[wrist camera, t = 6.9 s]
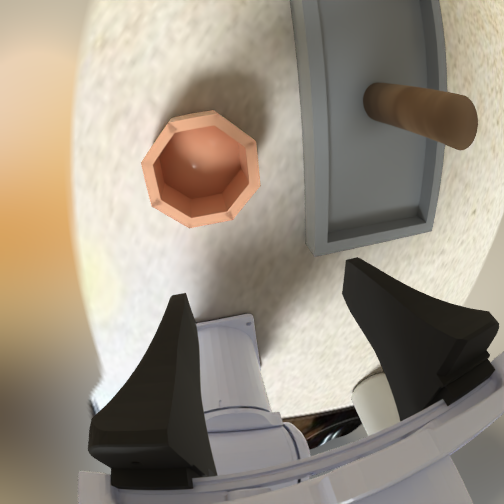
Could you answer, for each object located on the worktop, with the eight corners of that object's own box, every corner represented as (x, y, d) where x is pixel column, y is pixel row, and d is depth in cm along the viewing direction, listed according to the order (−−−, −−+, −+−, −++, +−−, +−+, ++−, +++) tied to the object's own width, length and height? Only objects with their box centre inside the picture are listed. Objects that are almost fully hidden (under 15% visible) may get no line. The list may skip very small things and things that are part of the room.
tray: (419, 221, 24) (431, 231, 23) (305, 243, 23) (314, 256, 21) (421, -9, 12) (436, -12, 11) (283, -39, 11) (293, -50, 9)
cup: (251, 193, 20) (263, 214, 17) (163, 210, 19) (159, 234, 16) (241, 105, 17) (252, 108, 14) (144, 123, 16) (133, 130, 13)
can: (395, 374, 41) (427, 429, 31) (361, 399, 43) (387, 455, 33) (379, 365, 37) (415, 429, 27) (340, 393, 39) (369, 457, 30)
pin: (395, 121, 18) (475, 150, 12) (363, 121, 18) (443, 149, 11) (395, 84, 17) (478, 99, 10) (362, 81, 16) (445, 91, 10)
